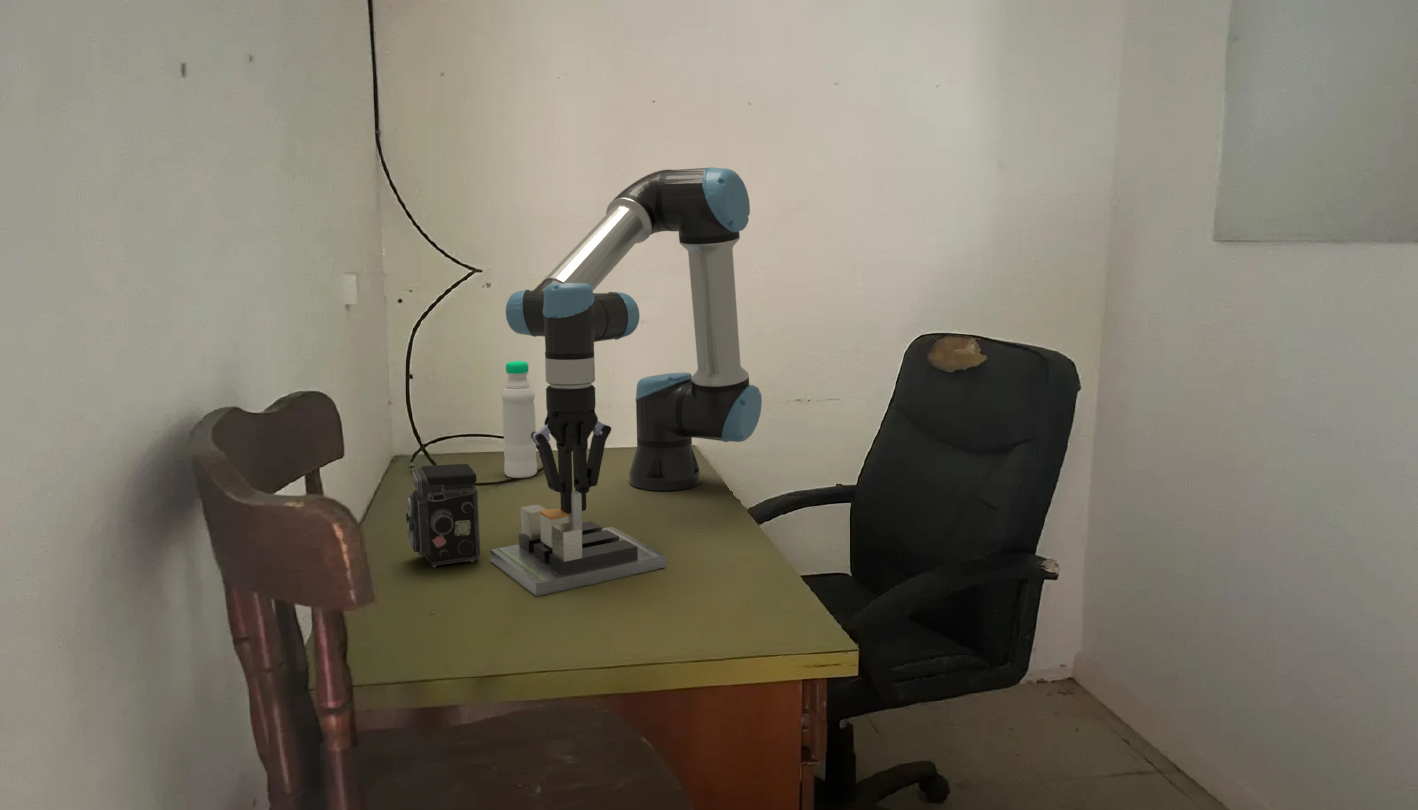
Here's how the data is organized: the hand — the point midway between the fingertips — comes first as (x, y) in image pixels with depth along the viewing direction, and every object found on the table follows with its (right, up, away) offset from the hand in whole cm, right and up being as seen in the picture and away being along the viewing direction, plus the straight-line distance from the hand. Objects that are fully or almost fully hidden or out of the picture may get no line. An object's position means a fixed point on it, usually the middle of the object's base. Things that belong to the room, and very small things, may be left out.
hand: (574, 531), depth 148 cm
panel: (0, -5, +1) cm, 6 cm away
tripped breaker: (-3, -2, -2) cm, 4 cm away
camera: (-22, -5, +4) cm, 22 cm away
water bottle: (-20, +5, +58) cm, 61 cm away
